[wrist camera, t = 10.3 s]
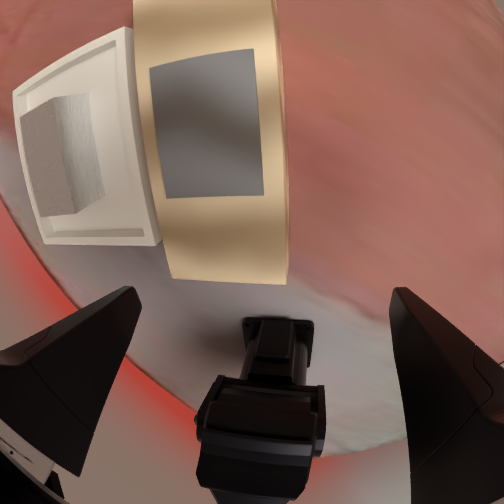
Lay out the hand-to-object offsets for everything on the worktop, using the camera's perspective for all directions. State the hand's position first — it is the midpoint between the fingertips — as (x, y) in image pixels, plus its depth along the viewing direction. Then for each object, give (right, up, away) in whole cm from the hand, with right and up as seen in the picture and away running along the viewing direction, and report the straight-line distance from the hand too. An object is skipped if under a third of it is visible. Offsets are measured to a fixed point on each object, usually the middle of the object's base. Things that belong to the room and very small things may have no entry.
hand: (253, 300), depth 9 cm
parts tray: (-15, +11, +11) cm, 21 cm away
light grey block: (-15, +10, +10) cm, 21 cm away
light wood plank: (-2, +10, +8) cm, 13 cm away
